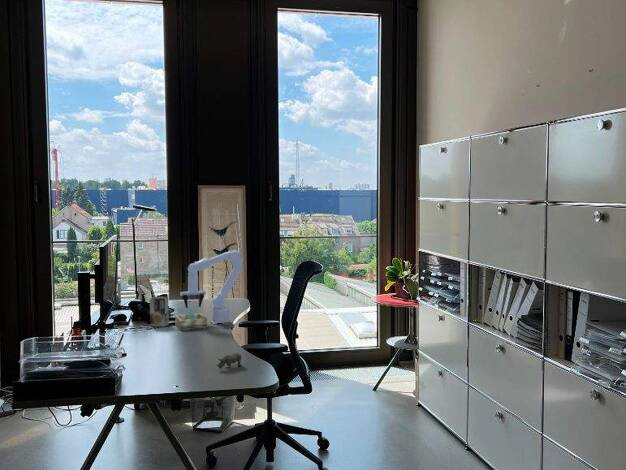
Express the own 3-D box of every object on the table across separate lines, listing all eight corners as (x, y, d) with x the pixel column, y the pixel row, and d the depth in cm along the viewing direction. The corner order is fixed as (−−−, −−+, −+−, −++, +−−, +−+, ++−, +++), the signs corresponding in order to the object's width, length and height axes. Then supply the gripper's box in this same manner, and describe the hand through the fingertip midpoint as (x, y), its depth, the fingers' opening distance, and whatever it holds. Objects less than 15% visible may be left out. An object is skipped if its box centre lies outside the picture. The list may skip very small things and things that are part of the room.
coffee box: (169, 324, 338) (168, 296, 337) (165, 326, 331) (165, 298, 330) (153, 323, 339) (153, 296, 338) (149, 326, 332) (149, 298, 331)
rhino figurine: (213, 370, 251) (213, 356, 250) (238, 363, 261) (238, 350, 260) (219, 372, 248) (219, 358, 247) (244, 365, 258) (244, 352, 257)
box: (201, 322, 342) (201, 313, 342) (207, 328, 329) (207, 318, 328) (175, 324, 336) (175, 315, 336) (180, 330, 323) (180, 320, 322)
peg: (193, 325, 335) (193, 313, 334) (194, 327, 331) (194, 314, 331) (187, 326, 333) (187, 314, 333) (188, 327, 330) (188, 315, 330)
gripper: (181, 285, 333) (182, 309, 334) (207, 284, 339) (207, 307, 339) (179, 284, 339) (179, 307, 340) (204, 282, 345) (204, 305, 346)
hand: (193, 307), depth 340 cm, fingers open, 7 cm apart
